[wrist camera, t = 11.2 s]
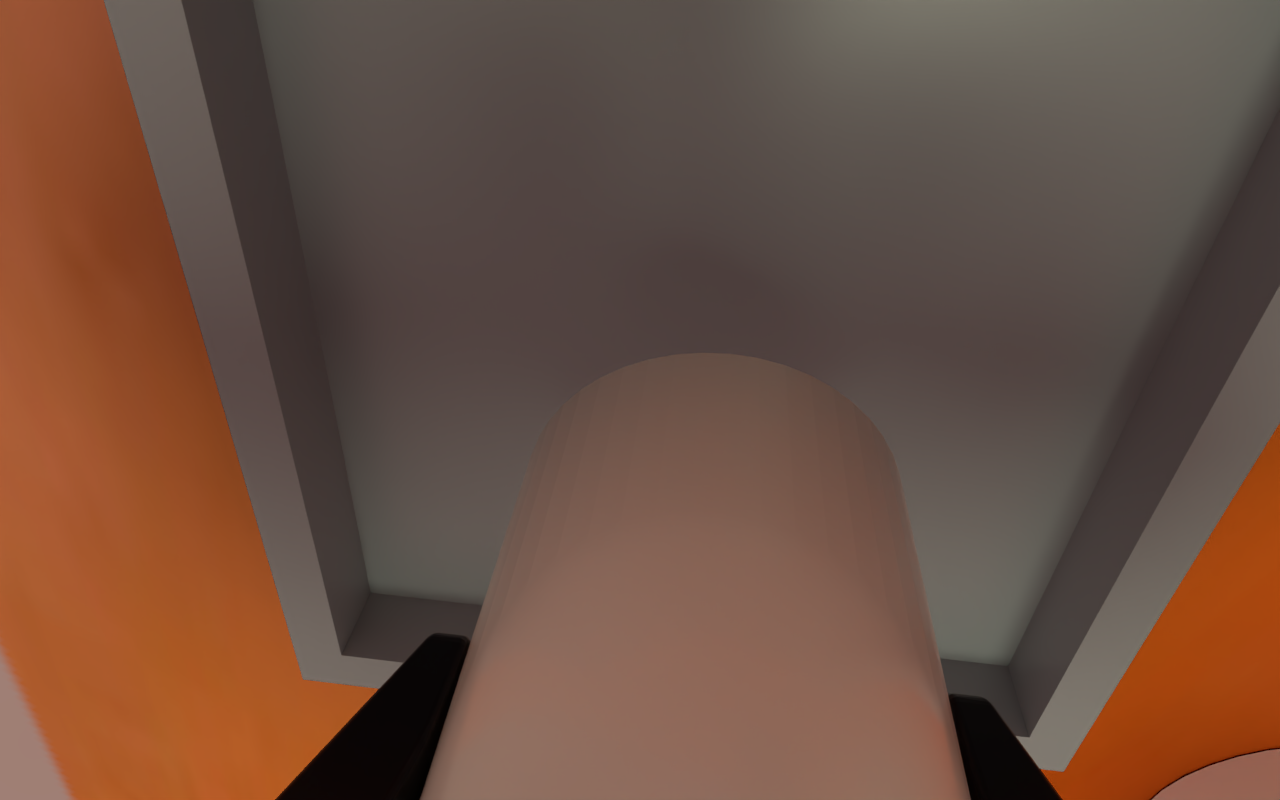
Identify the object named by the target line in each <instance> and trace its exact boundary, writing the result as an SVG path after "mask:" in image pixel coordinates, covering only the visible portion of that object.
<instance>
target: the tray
mask: <svg viewBox="0 0 1280 800" xmlns="http://www.w3.org/2000/svg"><path fill="white" fill-rule="evenodd" d="M104 3H105V6H106V10H107V13H108V16H109V20H110V23H111V27H112V30H113V33H114V37H115V40H116V44H117V47H118V50H119V54H120V57H121V61H122V64H123V67H124V71H125V74H126V78H127V81H128V85H129V88H130V91H131V95H132V98H133V102H134V105H135V108H136V112H137V115H138V119H139V122H140V125H141V129H142V132H143V136H144V139H145V142H146V146H147V149H148V153H149V156H150V159H151V163H152V166H153V170H154V173H155V177H156V180H157V183H158V187H159V190H160V194H161V197H162V200H163V204H164V207H165V211H166V214H167V217H168V221H169V224H170V228H171V231H172V234H173V238H174V241H175V245H176V248H177V252H178V255H179V258H180V262H181V265H182V269H183V272H184V275H185V279H186V282H187V286H188V289H189V292H190V296H191V299H192V303H193V306H194V309H195V313H196V316H197V320H198V323H199V326H200V330H201V333H202V337H203V340H204V344H205V347H206V350H207V354H208V357H209V361H210V364H211V367H212V371H213V374H214V378H215V381H216V384H217V388H218V391H219V395H220V398H221V401H222V405H223V408H224V412H225V415H226V418H227V422H228V425H229V429H230V432H231V436H232V439H233V442H234V446H235V449H236V453H237V456H238V459H239V463H240V466H241V470H242V473H243V476H244V480H245V483H246V487H247V490H248V493H249V497H250V500H251V504H252V507H253V510H254V514H255V517H256V521H257V524H258V528H259V531H260V534H261V538H262V541H263V545H264V548H265V551H266V555H267V558H268V562H269V565H270V568H271V572H272V575H273V579H274V582H275V585H276V589H277V592H278V596H279V599H280V602H281V606H282V609H283V613H284V616H285V620H286V623H287V626H288V630H289V633H290V637H291V640H292V643H293V647H294V650H295V654H296V657H297V660H298V664H299V667H300V671H301V674H302V677H303V679H304V680H312V681H321V682H329V683H337V684H345V685H354V686H362V687H370V688H378V689H379V688H380V687H381V686H382V685H383V684H384V683H385V682H386V681H387V680H388V679H389V678H390V677H391V676H392V675H393V673H394V672H395V671H396V670H397V669H398V668H399V667H400V666H401V665H402V664H403V663H404V662H405V661H406V660H407V659H408V657H409V656H410V655H411V654H412V653H413V652H414V651H415V650H416V649H417V648H418V647H419V646H420V645H421V644H422V643H423V641H424V640H425V639H426V638H427V637H428V636H430V635H431V634H434V633H437V632H441V633H449V634H458V635H465V636H467V637H468V638H469V639H470V641H471V639H472V636H473V633H474V630H475V627H476V624H477V621H478V618H479V615H480V612H481V609H482V606H483V602H484V599H485V596H486V593H487V590H488V587H489V584H490V581H491V578H492V575H493V572H494V568H495V565H496V562H497V559H498V556H499V553H500V550H501V547H502V544H503V541H504V538H505V535H506V531H507V528H508V525H509V522H510V519H511V516H512V513H513V510H514V507H515V504H516V501H517V497H518V494H519V491H520V488H521V485H522V482H523V479H524V476H525V473H526V470H527V467H528V463H529V460H530V457H531V454H532V452H533V449H534V447H535V445H536V442H537V440H538V438H539V436H540V434H541V432H542V431H543V429H544V428H545V426H546V425H547V423H548V422H549V420H550V419H551V418H552V416H553V415H554V414H555V413H556V412H557V411H558V410H559V409H560V408H561V406H562V405H563V404H564V403H565V402H567V401H568V400H569V399H570V398H571V397H573V396H574V395H575V394H576V393H578V392H579V391H580V390H581V389H583V388H584V387H586V386H588V385H589V384H591V383H593V382H594V381H596V380H597V379H599V378H601V377H603V376H605V375H607V374H609V373H612V372H614V371H616V370H618V369H621V368H623V367H626V366H629V365H632V364H635V363H639V362H642V361H645V360H648V359H654V358H659V357H665V356H670V355H676V354H690V353H723V354H735V355H742V356H748V357H755V358H760V359H764V360H767V361H771V362H775V363H778V364H782V365H786V366H788V367H791V368H793V369H796V370H798V371H801V372H803V373H806V374H808V375H811V376H812V377H814V378H816V379H818V380H820V381H821V382H823V383H825V384H827V385H829V386H831V387H832V388H834V389H835V390H837V391H838V392H839V393H841V394H842V395H843V396H845V397H846V398H848V399H849V400H850V401H852V402H853V403H854V404H855V405H856V406H857V407H858V408H859V409H860V410H861V411H862V412H863V413H864V414H865V415H866V416H868V417H869V418H870V420H871V421H872V422H873V423H874V425H875V426H876V427H877V429H878V430H879V431H880V433H881V434H882V435H883V437H884V438H885V440H886V442H887V444H888V446H889V448H890V450H891V452H892V453H893V455H894V458H895V461H896V464H897V467H898V470H899V473H900V478H901V482H902V487H903V491H904V496H905V501H906V505H907V510H908V514H909V519H910V523H911V528H912V533H913V537H914V542H915V546H916V551H917V555H918V560H919V565H920V569H921V574H922V578H923V583H924V587H925V592H926V597H927V601H928V606H929V610H930V615H931V619H932V624H933V629H934V633H935V638H936V642H937V647H938V651H939V656H940V661H941V665H942V670H943V674H944V679H945V683H946V688H947V693H959V694H967V695H976V696H981V697H984V698H985V699H987V700H988V701H989V702H990V703H991V704H992V705H993V706H994V707H995V709H996V710H997V711H998V713H999V714H1000V715H1001V717H1002V718H1003V720H1004V721H1005V722H1006V724H1007V725H1008V726H1009V728H1010V729H1011V730H1012V732H1013V733H1014V734H1015V736H1016V737H1017V739H1018V740H1019V741H1020V743H1021V744H1022V745H1023V747H1024V748H1025V749H1026V751H1027V752H1028V753H1029V755H1030V756H1031V758H1032V759H1033V760H1034V762H1035V763H1036V764H1037V766H1038V767H1039V768H1040V769H1046V770H1054V771H1062V772H1064V770H1065V768H1066V767H1067V765H1068V764H1069V762H1070V760H1071V759H1072V757H1073V756H1074V754H1075V752H1076V751H1077V749H1078V747H1079V746H1080V744H1081V743H1082V741H1083V739H1084V738H1085V736H1086V735H1087V733H1088V731H1089V730H1090V728H1091V726H1092V725H1093V723H1094V722H1095V720H1096V718H1097V717H1098V715H1099V714H1100V712H1101V710H1102V709H1103V707H1104V705H1105V704H1106V702H1107V701H1108V699H1109V697H1110V696H1111V694H1112V693H1113V691H1114V689H1115V688H1116V686H1117V684H1118V683H1119V681H1120V680H1121V678H1122V676H1123V675H1124V673H1125V672H1126V670H1127V668H1128V667H1129V665H1130V663H1131V662H1132V660H1133V659H1134V657H1135V655H1136V654H1137V652H1138V651H1139V649H1140V647H1141V646H1142V644H1143V642H1144V641H1145V639H1146V638H1147V636H1148V634H1149V633H1150V631H1151V630H1152V628H1153V626H1154V625H1155V623H1156V621H1157V620H1158V618H1159V617H1160V615H1161V613H1162V612H1163V610H1164V609H1165V607H1166V605H1167V604H1168V602H1169V601H1170V599H1171V597H1172V596H1173V594H1174V592H1175V591H1176V589H1177V588H1178V586H1179V584H1180V583H1181V581H1182V580H1183V578H1184V576H1185V575H1186V573H1187V571H1188V570H1189V568H1190V567H1191V565H1192V563H1193V562H1194V560H1195V559H1196V557H1197V555H1198V554H1199V552H1200V550H1201V549H1202V547H1203V546H1204V544H1205V542H1206V541H1207V539H1208V538H1209V536H1210V534H1211V533H1212V531H1213V529H1214V528H1215V526H1216V525H1217V523H1218V521H1219V520H1220V518H1221V517H1222V515H1223V513H1224V512H1225V510H1226V508H1227V507H1228V505H1229V504H1230V502H1231V500H1232V499H1233V497H1234V496H1235V494H1236V492H1237V491H1238V489H1239V487H1240V486H1241V484H1242V483H1243V481H1244V479H1245V478H1246V476H1247V475H1248V473H1249V471H1250V470H1251V468H1252V466H1253V465H1254V463H1255V462H1256V460H1257V458H1258V457H1259V455H1260V454H1261V452H1262V450H1263V449H1264V447H1265V446H1266V444H1267V442H1268V441H1269V439H1270V437H1271V436H1272V434H1273V433H1274V431H1275V429H1276V428H1277V426H1278V425H1279V423H1280V0H104Z"/></svg>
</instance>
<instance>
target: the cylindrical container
mask: <svg viewBox="0 0 1280 800" xmlns="http://www.w3.org/2000/svg"><path fill="white" fill-rule="evenodd" d="M1152 800H1280V749H1276V750H1268V751H1263V752H1258V753H1253V754H1249V755H1244V756H1239V757H1235V758H1232V759H1229V760H1226V761H1223V762H1219V763H1216V764H1213V765H1210V766H1208V767H1205V768H1203V769H1201V770H1198V771H1196V772H1194V773H1191V774H1189V775H1187V776H1185V777H1183V778H1181V779H1180V780H1178V781H1176V782H1175V783H1173V784H1171V785H1170V786H1168V787H1166V788H1165V789H1163V790H1162V791H1161V792H1160V793H1158V794H1157V795H1156V796H1155V797H1154V798H1153V799H1152Z"/></svg>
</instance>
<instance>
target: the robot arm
mask: <svg viewBox="0 0 1280 800" xmlns="http://www.w3.org/2000/svg"><path fill="white" fill-rule="evenodd" d="M470 643H471V641H470V639H469V638H468V637H467V636H465V635H458V634H449V633H441V632H437V633H434V634H431V635H430V636H428V637H427V638H426V639H425V640H424V641H423V643H422V644H421V645H420V646H419V647H418V648H417V649H416V650H415V651H414V652H413V653H412V654H411V655H410V656H409V657H408V659H407V660H406V661H405V662H404V663H403V664H402V665H401V666H400V667H399V668H398V669H397V670H396V671H395V672H394V673H393V675H392V676H391V677H390V678H389V679H388V680H387V681H386V682H385V683H384V684H383V685H382V686H381V687H380V688H379V689H378V691H377V692H376V693H375V694H374V695H373V696H372V697H371V698H370V699H369V700H368V701H367V702H366V703H365V704H364V705H363V707H362V708H361V709H360V710H359V711H358V712H357V713H356V714H355V715H354V716H353V717H352V718H351V719H350V720H349V721H348V723H347V724H346V725H345V726H344V727H343V728H342V729H341V730H340V731H339V732H338V733H337V734H336V735H335V736H334V738H333V739H332V740H331V741H330V742H329V743H328V744H327V745H326V746H325V747H324V748H323V749H322V750H321V751H320V752H319V754H318V755H317V756H316V757H315V758H314V759H313V760H312V761H311V762H310V763H309V764H308V765H307V766H306V767H305V768H304V770H303V771H302V772H301V773H300V774H299V775H298V776H297V777H296V778H295V779H294V780H293V781H292V782H291V783H290V784H289V786H288V787H287V788H286V789H285V790H284V791H283V792H282V793H281V794H280V795H279V796H278V797H277V798H276V799H275V800H420V797H421V794H422V791H423V788H424V785H425V782H426V778H427V775H428V772H429V769H430V766H431V763H432V760H433V757H434V754H435V751H436V748H437V744H438V741H439V738H440V735H441V732H442V729H443V726H444V723H445V720H446V717H447V714H448V710H449V707H450V704H451V701H452V698H453V695H454V692H455V689H456V686H457V683H458V680H459V677H460V673H461V670H462V667H463V664H464V661H465V658H466V655H467V652H468V649H469V646H470ZM948 697H949V702H950V706H951V711H952V715H953V720H954V725H955V729H956V734H957V738H958V743H959V747H960V752H961V757H962V761H963V766H964V770H965V775H966V779H967V784H968V789H969V793H970V798H971V800H1062V798H1061V797H1060V796H1059V794H1058V793H1057V792H1056V790H1055V789H1054V787H1053V786H1052V785H1051V783H1050V782H1049V781H1048V779H1047V778H1046V777H1045V775H1044V774H1043V773H1042V771H1041V770H1040V768H1039V767H1038V766H1037V764H1036V763H1035V762H1034V760H1033V759H1032V758H1031V756H1030V755H1029V753H1028V752H1027V751H1026V749H1025V748H1024V747H1023V745H1022V744H1021V743H1020V741H1019V740H1018V739H1017V737H1016V736H1015V734H1014V733H1013V732H1012V730H1011V729H1010V728H1009V726H1008V725H1007V724H1006V722H1005V721H1004V720H1003V718H1002V717H1001V715H1000V714H999V713H998V711H997V710H996V709H995V707H994V706H993V705H992V704H991V703H990V702H989V701H988V700H987V699H985V698H984V697H981V696H976V695H967V694H959V693H948Z"/></svg>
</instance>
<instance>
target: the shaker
mask: <svg viewBox="0 0 1280 800" xmlns="http://www.w3.org/2000/svg"><path fill="white" fill-rule="evenodd" d="M420 800H971V798H970V793H969V789H968V784H967V779H966V775H965V770H964V766H963V761H962V757H961V752H960V747H959V743H958V738H957V734H956V729H955V725H954V720H953V715H952V711H951V706H950V702H949V697H948V693H947V688H946V683H945V679H944V674H943V670H942V665H941V661H940V656H939V651H938V647H937V642H936V638H935V633H934V629H933V624H932V619H931V615H930V610H929V606H928V601H927V597H926V592H925V587H924V583H923V578H922V574H921V569H920V565H919V560H918V555H917V551H916V546H915V542H914V537H913V533H912V528H911V523H910V519H909V514H908V510H907V505H906V501H905V496H904V491H903V487H902V482H901V478H900V473H899V470H898V467H897V464H896V461H895V458H894V455H893V453H892V452H891V450H890V448H889V446H888V444H887V442H886V440H885V438H884V437H883V435H882V434H881V433H880V431H879V430H878V429H877V427H876V426H875V425H874V423H873V422H872V421H871V420H870V418H869V417H868V416H866V415H865V414H864V413H863V412H862V411H861V410H860V409H859V408H858V407H857V406H856V405H855V404H854V403H853V402H852V401H850V400H849V399H848V398H846V397H845V396H843V395H842V394H841V393H839V392H838V391H837V390H835V389H834V388H832V387H831V386H829V385H827V384H825V383H823V382H821V381H820V380H818V379H816V378H814V377H812V376H811V375H808V374H806V373H803V372H801V371H798V370H796V369H793V368H791V367H788V366H786V365H782V364H778V363H775V362H771V361H767V360H764V359H760V358H755V357H748V356H742V355H735V354H723V353H690V354H676V355H670V356H665V357H659V358H654V359H648V360H645V361H642V362H639V363H635V364H632V365H629V366H626V367H623V368H621V369H618V370H616V371H614V372H612V373H609V374H607V375H605V376H603V377H601V378H599V379H597V380H596V381H594V382H593V383H591V384H589V385H588V386H586V387H584V388H583V389H581V390H580V391H579V392H578V393H576V394H575V395H574V396H573V397H571V398H570V399H569V400H568V401H567V402H565V403H564V404H563V405H562V406H561V408H560V409H559V410H558V411H557V412H556V413H555V414H554V415H553V416H552V418H551V419H550V420H549V422H548V423H547V425H546V426H545V428H544V429H543V431H542V432H541V434H540V436H539V438H538V440H537V442H536V445H535V447H534V449H533V452H532V454H531V457H530V460H529V463H528V467H527V470H526V473H525V476H524V479H523V482H522V485H521V488H520V491H519V494H518V497H517V501H516V504H515V507H514V510H513V513H512V516H511V519H510V522H509V525H508V528H507V531H506V535H505V538H504V541H503V544H502V547H501V550H500V553H499V556H498V559H497V562H496V565H495V568H494V572H493V575H492V578H491V581H490V584H489V587H488V590H487V593H486V596H485V599H484V602H483V606H482V609H481V612H480V615H479V618H478V621H477V624H476V627H475V630H474V633H473V636H472V639H471V643H470V646H469V649H468V652H467V655H466V658H465V661H464V664H463V667H462V670H461V673H460V677H459V680H458V683H457V686H456V689H455V692H454V695H453V698H452V701H451V704H450V707H449V710H448V714H447V717H446V720H445V723H444V726H443V729H442V732H441V735H440V738H439V741H438V744H437V748H436V751H435V754H434V757H433V760H432V763H431V766H430V769H429V772H428V775H427V778H426V782H425V785H424V788H423V791H422V794H421V797H420Z"/></svg>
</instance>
